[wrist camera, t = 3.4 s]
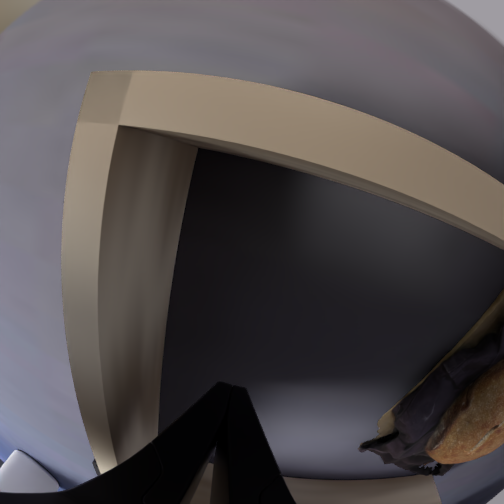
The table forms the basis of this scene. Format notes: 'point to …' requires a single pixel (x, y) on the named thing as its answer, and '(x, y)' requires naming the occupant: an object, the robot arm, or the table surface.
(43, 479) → the can
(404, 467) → the bread roll
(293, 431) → the table surface
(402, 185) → the frame
